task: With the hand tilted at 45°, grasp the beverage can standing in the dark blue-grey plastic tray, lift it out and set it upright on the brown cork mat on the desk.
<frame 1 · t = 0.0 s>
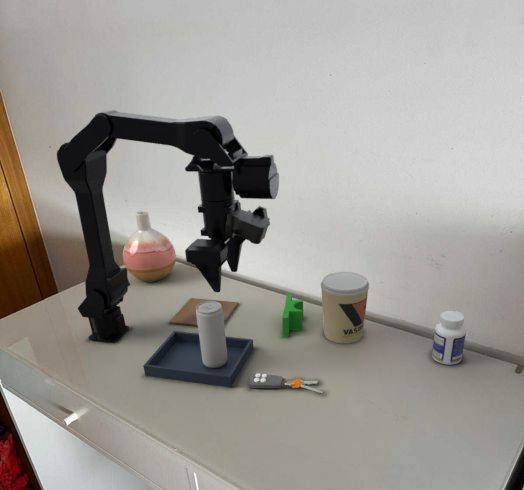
hand: (226, 281, 92), 15 cm above the table, tool pointing down, fingers open, 9 cm apart
vase: (153, 277, 133), on the table
pill bottle: (446, 358, 93), on the table
key chain: (286, 386, 88), on the table
beige lidded tub: (343, 334, 102), on the table
tray: (201, 362, 96), on the table
pipe clamp: (293, 325, 107), on the table
cork mat: (204, 313, 113), on the table
beverage can: (215, 363, 95), resting on tray
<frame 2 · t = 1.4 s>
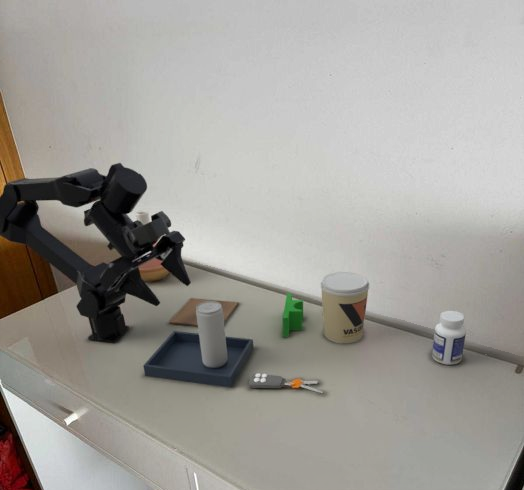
hand: (174, 294, 92), 13 cm above the table, tool tilted 45°, fingers open, 9 cm apart
nothing on the table moved.
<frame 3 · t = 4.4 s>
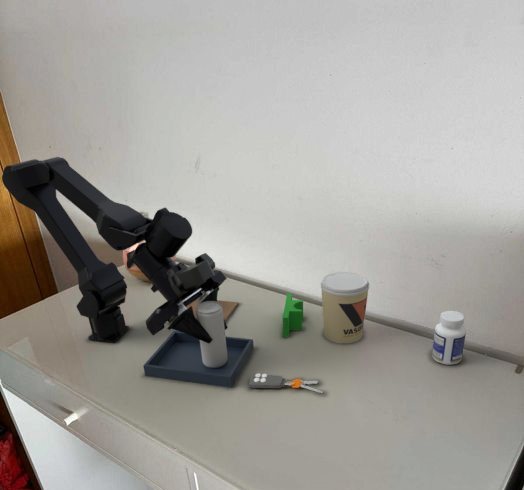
hand: (218, 335, 91), 7 cm above the table, tool tilted 45°, fingers closed on beverage can, 5 cm apart
beverage can: (215, 363, 95), resting on tray, touching gripper
everything else where it was.
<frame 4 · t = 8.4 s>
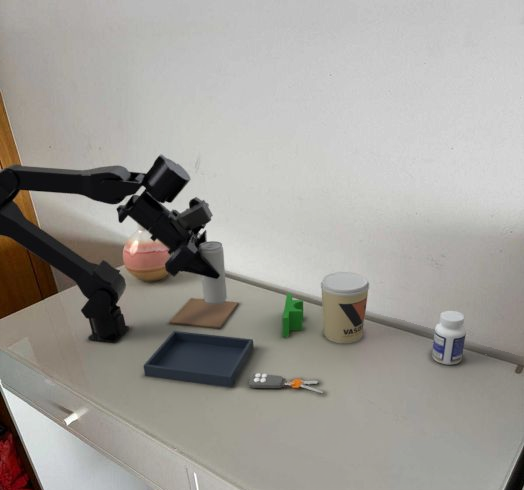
hand: (219, 272, 100), 13 cm above the table, tool tilted 45°, fingers closed on beverage can, 5 cm apart
beverage can: (215, 301, 103), point 7 cm above the table, touching gripper
everything else where it was.
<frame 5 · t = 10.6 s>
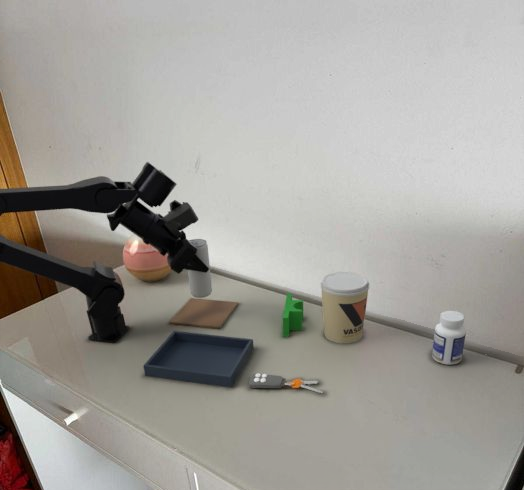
hand: (204, 266, 108), 11 cm above the table, tool tilted 45°, fingers closed on beverage can, 5 cm apart
beverage can: (201, 294, 111), point 5 cm above the table, touching gripper
everything else where it was.
when the fingers open (7 cm above the table, at t = 12.3 s): beverage can stays where it is, resting on cork mat.
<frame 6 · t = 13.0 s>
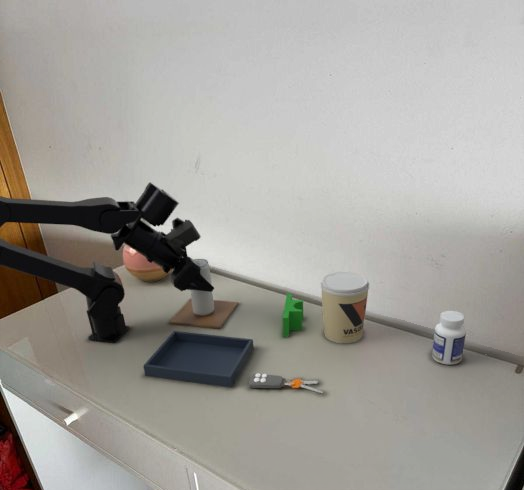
hand: (207, 281, 110), 8 cm above the table, tool tilted 45°, fingers open, 9 cm apart
beverage can: (203, 312, 113), resting on cork mat
everything else where it was.
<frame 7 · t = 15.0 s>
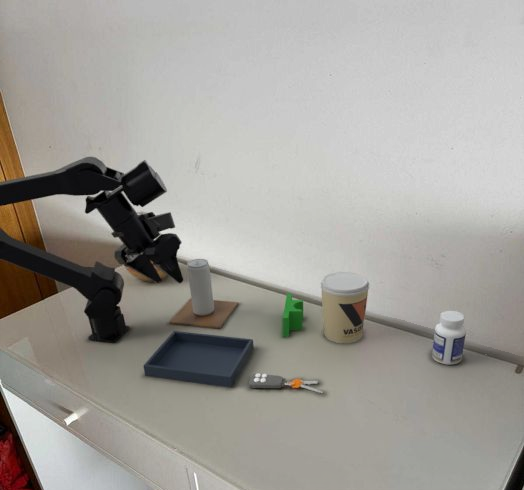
hand: (170, 281, 104), 11 cm above the table, tool tilted 25°, fingers open, 9 cm apart
nothing on the table moved.
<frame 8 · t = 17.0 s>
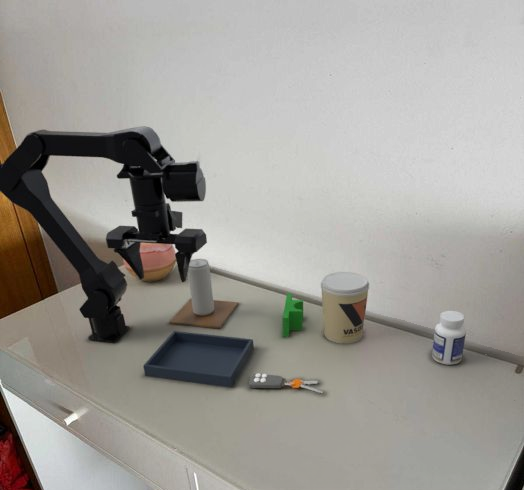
hand: (162, 280, 99), 13 cm above the table, tool pointing down, fingers open, 9 cm apart
nothing on the table moved.
at the end: beverage can inside the target area on the cork mat (0.1 cm from its centre), point 0.3 cm above the cork mat's base; beverage can tilted 0°; the gripper is holding nothing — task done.
